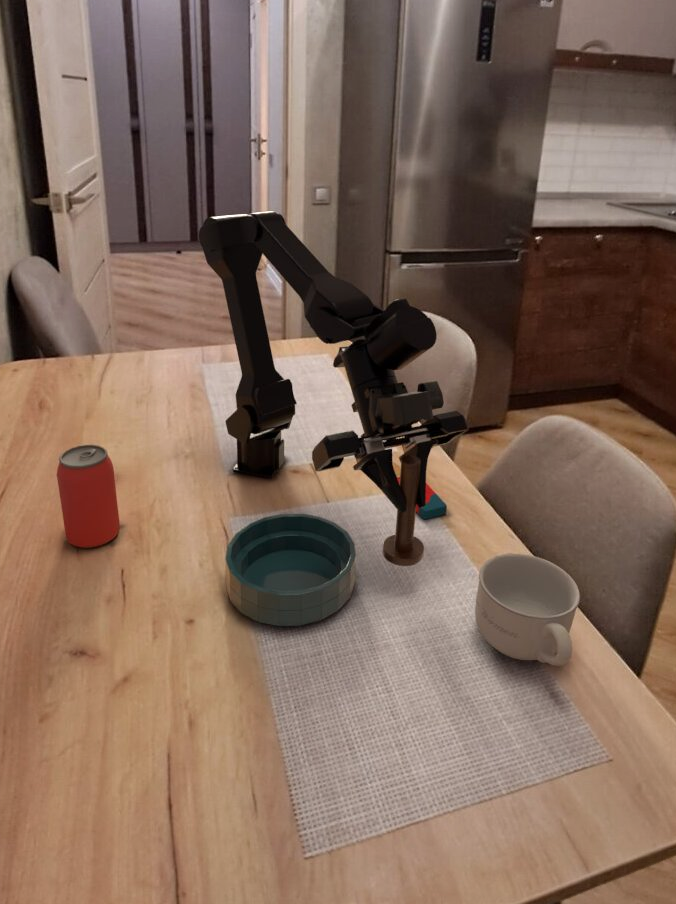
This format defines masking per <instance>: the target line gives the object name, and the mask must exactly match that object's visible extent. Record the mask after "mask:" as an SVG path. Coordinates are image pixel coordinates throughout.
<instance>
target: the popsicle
mask: <svg viewBox="0 0 676 904" xmlns="http://www.w3.org/2000/svg"><path fill="white" fill-rule="evenodd" d="M392 463H393V468H394V471H395V474H396V476H397V479H398V482H400V470H401V466H399V465H398V464H397V463H396V462H395V461H392ZM447 508H448V505H447V504H446V503H445V501H444V500H443V499H442V498H441V497H440V496H439V495H438V494H437V493H436V491H434V489H433V488H432V487H431V486H430V485H429V484H428V483H427V482H426V502H425V507H423V508H419V507H418V505H416V513H417V514H418V515H419V516H420V517H421V518H422V519H423V520H428V519H433V518H435V517H441V516H444V515H446V514H447Z"/></svg>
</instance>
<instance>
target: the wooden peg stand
mask: <svg viewBox="0 0 676 904" xmlns="http://www.w3.org/2000/svg"><path fill="white" fill-rule="evenodd" d="M420 462H421V460H420V458H419V457H417V456H414V455H406V456H403V457H402V459H401V462H400V469H401V470H400V482H399V485H400V488H401V491H402V494H403V496H404V500H405V504H406V509H407V510H406V512H404V513H400V512H399V511H398V510H397V509H396V521H395V533H394V534H392V535H390V536H388V537H386V538H385V539H384V540H383V543H382V549H381V550H382V556H383V558H384V559H385V560H386V561H388V562H389V563H391V564H392V565H396V566H400V567H409V566H410V567H411V566H415V565H417V564H419V563H420V562H421V561H422V560H423V558H424V553H425V545H424V543H423V541H421V540H420V539H419V538H417V537H416V536H415V535H414V534H415V525H416V513H417V512H416V505H417V494H418V484H419V473H420Z"/></svg>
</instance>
